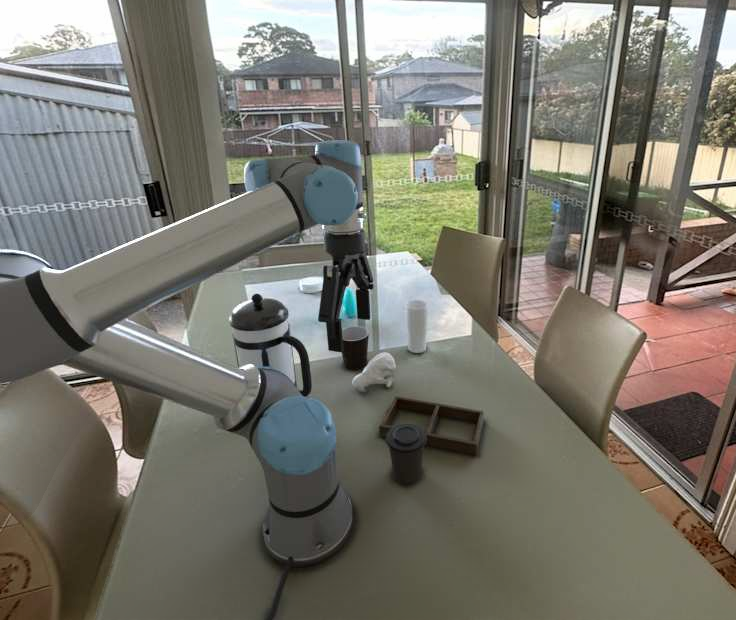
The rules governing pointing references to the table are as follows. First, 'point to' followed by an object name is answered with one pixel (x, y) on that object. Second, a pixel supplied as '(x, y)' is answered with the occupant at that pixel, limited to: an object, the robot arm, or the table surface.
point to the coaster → (311, 284)
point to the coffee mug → (355, 347)
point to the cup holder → (436, 411)
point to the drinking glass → (416, 325)
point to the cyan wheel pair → (349, 303)
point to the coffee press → (268, 339)
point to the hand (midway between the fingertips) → (351, 333)
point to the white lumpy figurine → (376, 372)
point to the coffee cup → (406, 451)
